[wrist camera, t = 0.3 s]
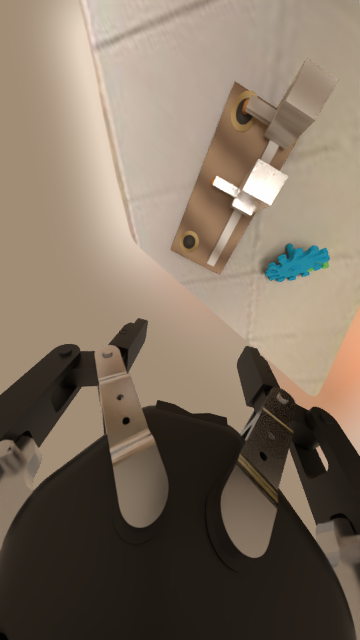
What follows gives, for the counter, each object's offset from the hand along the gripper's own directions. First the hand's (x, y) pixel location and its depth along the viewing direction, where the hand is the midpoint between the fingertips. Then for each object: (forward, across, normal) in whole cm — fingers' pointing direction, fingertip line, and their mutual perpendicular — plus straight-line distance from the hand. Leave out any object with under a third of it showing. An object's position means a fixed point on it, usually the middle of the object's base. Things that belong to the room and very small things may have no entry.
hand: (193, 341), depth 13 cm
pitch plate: (+28, -1, -13) cm, 31 cm away
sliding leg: (+25, -2, -14) cm, 29 cm away
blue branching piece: (+28, -18, -6) cm, 34 cm away
